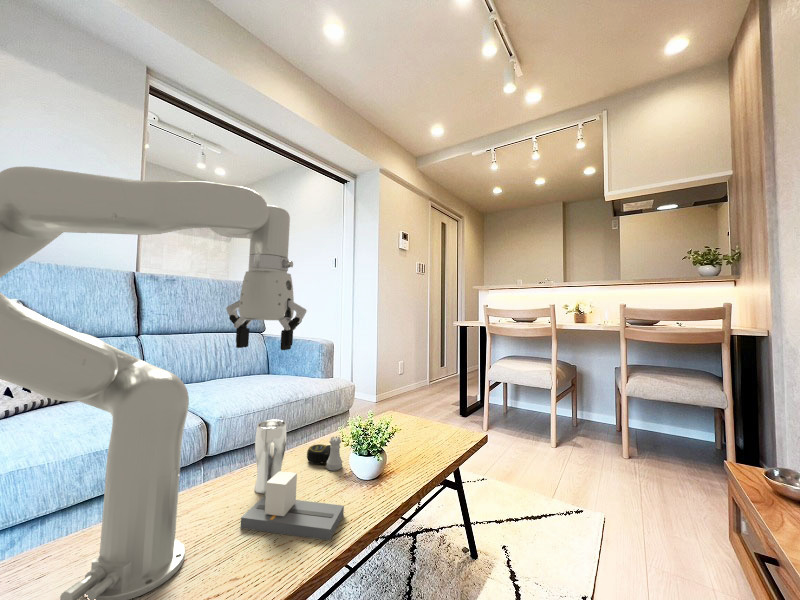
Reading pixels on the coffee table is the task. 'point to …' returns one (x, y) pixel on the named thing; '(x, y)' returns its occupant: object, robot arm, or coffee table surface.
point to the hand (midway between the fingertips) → (263, 348)
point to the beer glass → (269, 451)
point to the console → (296, 519)
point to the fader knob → (280, 493)
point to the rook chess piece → (334, 455)
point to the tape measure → (318, 453)
